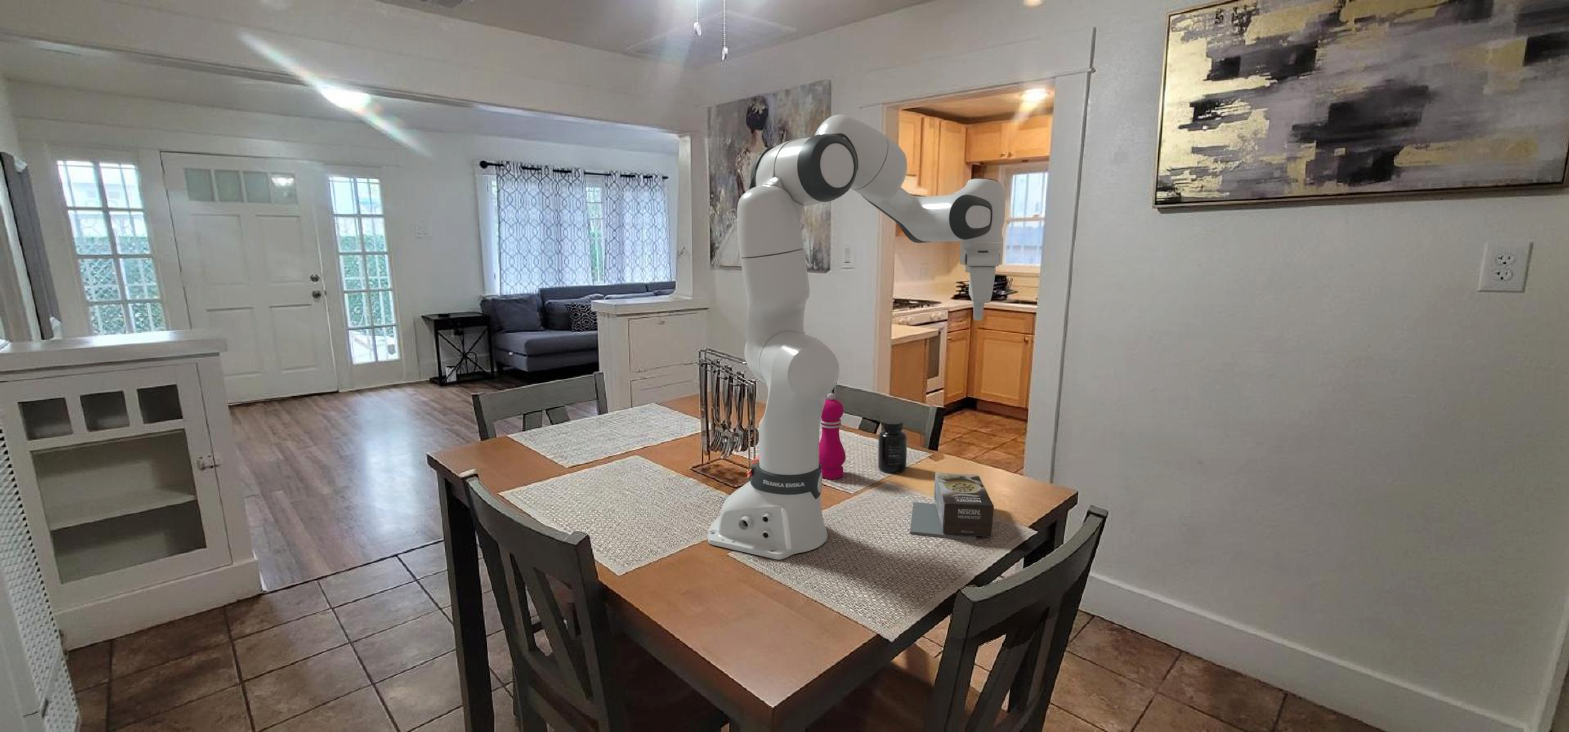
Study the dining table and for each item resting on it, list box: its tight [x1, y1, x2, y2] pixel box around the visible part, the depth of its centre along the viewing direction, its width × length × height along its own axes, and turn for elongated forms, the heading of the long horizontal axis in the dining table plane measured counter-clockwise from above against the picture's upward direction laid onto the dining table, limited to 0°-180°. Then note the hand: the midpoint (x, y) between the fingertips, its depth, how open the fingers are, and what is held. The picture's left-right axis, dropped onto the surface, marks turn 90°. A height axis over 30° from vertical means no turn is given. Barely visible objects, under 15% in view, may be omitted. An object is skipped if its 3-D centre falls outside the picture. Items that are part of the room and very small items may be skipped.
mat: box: [909, 501, 977, 541], centre depth 123 cm, size 12×14×1 cm
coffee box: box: [933, 472, 995, 537], centre depth 123 cm, size 9×6×16 cm
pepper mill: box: [819, 392, 847, 480], centre depth 147 cm, size 7×7×20 cm
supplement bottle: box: [877, 418, 908, 474], centre depth 151 cm, size 7×7×12 cm
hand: (977, 319), depth 139 cm, fingers closed
